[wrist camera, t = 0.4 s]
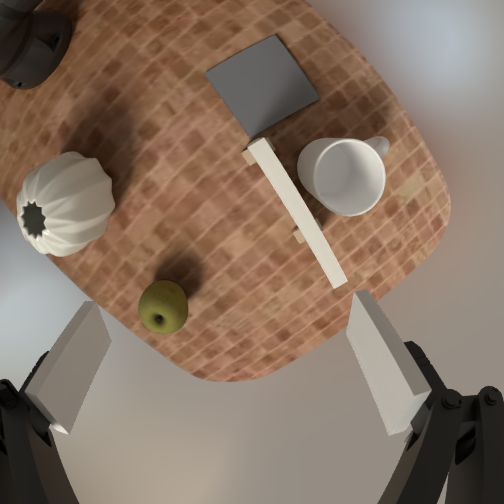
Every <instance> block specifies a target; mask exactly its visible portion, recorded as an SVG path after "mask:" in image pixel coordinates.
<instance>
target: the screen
mask: <svg viewBox="0 0 504 504" xmlns="http://www.w3.org/2000/svg"><path fill="white" fill-rule="evenodd" d="M247 147H248V149H247V150H245V151H243V152H242V153H241V154H242V155H243V156H244V158H245V159H246V161H247V162H248V164H249V165H252V164H253V163H255V162H258V164H259V166H260V167H261V169H262V170H263V172H264V173H265V175H266V176H267V178H268V179H269V181H270V182H271V184H272V186H273V187H274V189H275V190H276V192H277V193H278V195H279V197H280V198H281V200H282V201H283V203H284V205H285V206H286V208H287V209H288V211H289V213H290V214H291V216H292V218H293V219H294V221H295V222H296V224H297V226H298V227H297V228H295V229H294V230H292V232H293V234H294V236H295V237H296V239H297V240H298V242H299V244H301V243H302V242H304V241H307V242H308V244H309V246H310V247H311V249H312V251H313V253H314V254H315V256H316V258H317V259H318V261H319V263H320V265H321V266H322V268H323V270H324V272H325V273H326V275H327V277H328V279H329V280H330V282H331V284H332V286H333V288H334V289H335V288H337V287H338V286H340V285H342V284H343V283H345V282H347V281H348V280H347V279H346V277H345V275H344V273H343V271H342V269H341V267H340V265H339V263H338V261H337V259H336V258H335V256H334V254H333V252H332V250H331V248H330V246H329V245H328V243H327V241H326V239H325V237H324V236H323V234H322V232H321V231H323V230H324V229H323V227H322V226H321V224H320V222H319V220H318V219H317V217H316V216H315V217H314V218H313V216H312V214H311V213H310V211H309V209H308V207H307V206H306V204H305V202H304V201H303V199H302V197H301V196H300V194H299V192H298V191H297V189H296V187H295V186H294V184H293V182H292V181H291V179H290V177H289V176H288V174H287V173H286V171H285V169H284V168H283V166H282V165H281V163H280V161H279V160H278V158H277V157H276V155H275V154H274V152H273V151H274V150H276V149H275V147H274V146H273V144H272V143H271V141H270V140H269V138H268V137H266V138H257V139H256V140H254V141H252V142H251V143H249V144H248V145H247Z"/></svg>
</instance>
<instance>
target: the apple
mask: <svg viewBox="0 0 504 504" xmlns="http://www.w3.org/2000/svg"><path fill="white" fill-rule="evenodd" d="M138 310H139V315H140V318H141V320H142V322H143V323H144V324H145V326H146V327H147V328H148V329H150V330H151V331H153V332H155V333H159V334H170V333H174V332H176V331H178V330H179V329H181V328H182V327H183V325H184V324H185V322H186V320H187V317H188V302H187V298H186V295H185V293H184V291H183V289H182V288H181V287H180V286H179V285H178V284H177V283H175V282H172V281H169V280H160V281H156V282H154V283H152V284H151V285H150V286H148V287H147V288H146V290H145V291H144V292H143V294H142V296H141V298H140V301H139V307H138Z"/></svg>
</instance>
